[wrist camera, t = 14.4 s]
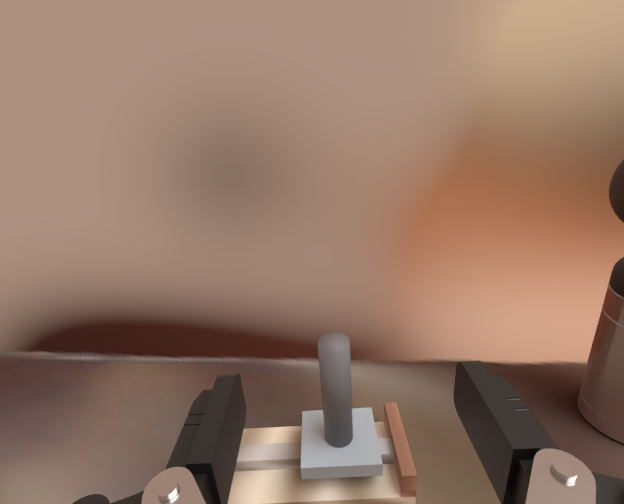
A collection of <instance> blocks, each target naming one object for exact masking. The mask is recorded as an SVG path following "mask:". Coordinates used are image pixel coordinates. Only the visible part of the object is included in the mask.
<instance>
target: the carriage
mask: <svg viewBox="0 0 624 504" xmlns="http://www.w3.org/2000/svg"><path fill="white" fill-rule="evenodd" d="M318 353H319V367H320V379H321V392H322V405H323V410H316V411H302V441H301V476H302V479H321V478H342V477H363V476H383V463H382V458H381V453H380V448H379V443H378V438H377V433H376V428H375V423H374V418H373V413H372V408H353V409H352V393H351V366H350V341H349V339H348V337H347V336H345V335H344V334H341V333H335V332H334V333H327V334H325V335H323V336H321V337H320V338H319V340H318Z"/></svg>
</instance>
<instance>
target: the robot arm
mask: <svg viewBox="0 0 624 504" xmlns="http://www.w3.org/2000/svg"><path fill="white" fill-rule="evenodd" d="M609 199H610V203H611V206H612V208H613V210H614V212H615V214H616V215H617V216H618V218H619V219H620V220H621V221H622V222H624V160H623V161H622V162H621V164H620V165H619V166H618V167H617V169H616V171H615V173H614V174H613V177H612V180H611V182H610V187H609ZM454 403H455V407H456V411H457V413H458V415H459V417H460V419H461V421H462V423H463V425H464V428H465V430H466V432H467V434H468V436H469V438H470V440H471V442H472V444H473V446H474V448H475V450H476V452H477V454H478V456H479V459H480V461H481V463H482V465H483V467H484V469H485V471H486V473H487V475H488V477H489V479H490V481H491V483H492V485H493V487H494V490H495V492H496V494H497V496H498V498H499V500H500V502H501V504H624V480H623V479H618V478H614V477H610V476H605V475H601V474H597V473H594V472H591V471H590V470H589V469H588V468H587V467H586V465H585V464H583V463H582V462H581V461H580V460H579V459H577V458H576V457H574V456H572V455H571V454H569V453H566V452H564V451H561V450H559V448H558V447H557V446H556V444H555V443H554V442H553V440H552V439H551V438H550V436H549V435H548V433H547V432H546V431H545V429H544V428H543V427H542V425H541V424H540V423H539V421H538V420H537V418H536V417H535V416H534V414H533V413H532V412H531V410H529V409H528V406H527V405H526V404H525V402H524V401H523V400H521V397H520V395H519V394H518V393H517V391H516V390H515V389H514V387H513V386H512V385H511V384H510V383H509V382H507V381H506V380H505V379H503V378H502V377H501V376H499V375H490V373H489V372H488V370H487V369H486V367H485V366H484V364H483V363H482V362H481V361H465V362H458V363H457V367H456V376H455V386H454ZM577 406H578V409H579V411H580V413H581V414H582V415H583V417H584V418H585V419H586V420H587V421H588V422H589V423H590V424H591V425H592V426H593V427H595V428H596V429H597V430H599V431H600V432H602V433H603V434H605V435H607V436H608V437H610V438H612V439H614V440H616V441H618V442H621V443H623V444H624V257H623V258H622V259H620V260H619V261H618V262H617V263H616V264H615V266H614V268H613V270H612V274H611V277H610V281H609V284H608V288H607V292H606V295H605V300H604V303H603V307H602V311H601V314H600V318H599V321H598V325H597V329H596V332H595V336H594V340H593V343H592V348H591V351H590V354H589V358H588V362H587V365H586V369H585V373H584V376H583V380H582V384H581V388H580V391H579V395H578V399H577ZM245 420H246V405H245V399H244V394H243V388H242V383H241V378H240V375H239V374H222V375H218V376H217V378H216V381H215V384H214V387H213V389H212V390H203V392H202V393H201V394H200V395H199V396H198V397H197V398H196V399H195V400H194V402H193V404H192V406H191V409H190V411H189V414H188V417H187V418H186V421H185V423H184V427H183V428H182V431H181V433H180V435H179V438H178V440H177V443H176V445H175V447H174V450H173V452H172V455H171V457H170V460H169V462H168V464H167V467H166V469H165V470H164V471H162V472H161V473H159V474H158V475H156V476H155V477H154V478H153V479H152V480H151V481H150V482H149V484H148V485H147V487H146V488H145V490H144V491H142V492H140V493H138V494H136V495H133V496H130V497H127V498H125V499H122V500H119V501H116V502H114V503H111V504H228V499H229V494H230V490H231V485H232V481H233V476H234V471H235V467H236V462H237V458H238V453H239V448H240V444H241V439H242V435H243V430H244V425H245ZM73 504H110V502H109V500H108V499H107V498H106V497H105V496H103V495H100V494H93V495H88V496H85V497H83V498H81V499H79V500H77V501H76V502H74V503H73Z"/></svg>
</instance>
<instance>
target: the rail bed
mask: <svg viewBox="0 0 624 504" xmlns="http://www.w3.org/2000/svg"><path fill="white" fill-rule="evenodd" d="M374 423H375V428H376V433H377V438H378V443H379V448H380V453H381V458H382V463H383V476H363V477H342V478H321V479H302V476H301V441H302V426H290V427H270V428H251V429H244V430H243V435H242V439H241V444H240V448H239V453H238V458H237V462H236V467H235V471H234V476H233V481H232V485H231V490H230V494H229V499H228V504H416V488H417V473H416V470H415V466H414V463H413V459H412V456H411V452H410V449H409V445H408V442H407V438H406V435H405V432H404V428H403V425H402V421H401V418H400V414H399V411H398V407H397V404H396V402H389V403H384V422H374Z"/></svg>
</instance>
